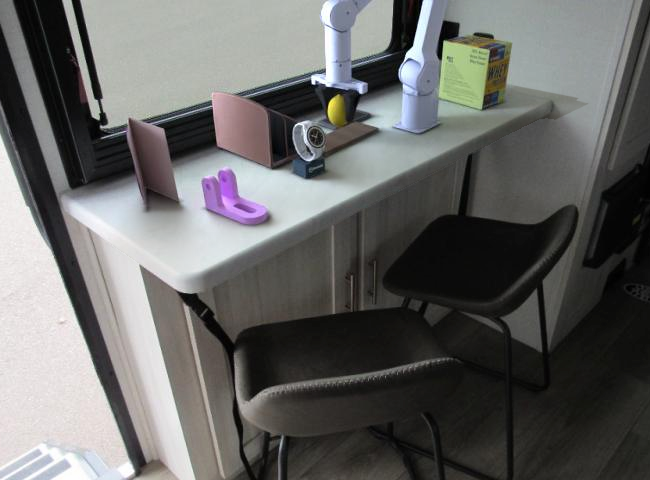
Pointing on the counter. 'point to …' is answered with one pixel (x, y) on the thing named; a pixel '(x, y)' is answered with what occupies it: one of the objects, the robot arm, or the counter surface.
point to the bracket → (230, 199)
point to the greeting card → (151, 158)
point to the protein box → (474, 71)
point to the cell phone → (358, 117)
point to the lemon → (337, 111)
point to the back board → (346, 136)
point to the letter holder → (253, 130)
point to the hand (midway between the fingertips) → (339, 119)
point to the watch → (316, 142)
